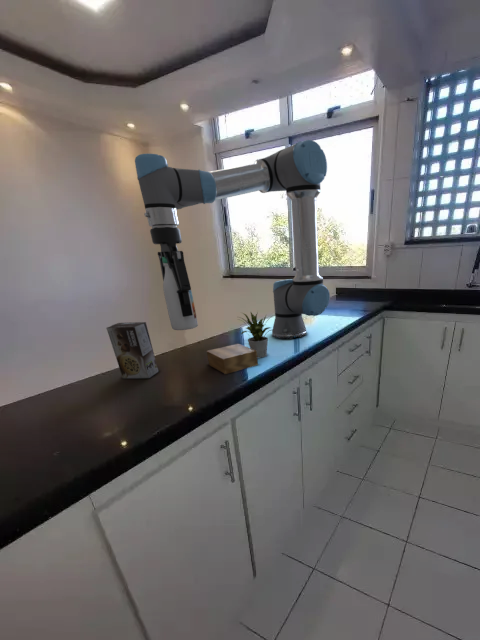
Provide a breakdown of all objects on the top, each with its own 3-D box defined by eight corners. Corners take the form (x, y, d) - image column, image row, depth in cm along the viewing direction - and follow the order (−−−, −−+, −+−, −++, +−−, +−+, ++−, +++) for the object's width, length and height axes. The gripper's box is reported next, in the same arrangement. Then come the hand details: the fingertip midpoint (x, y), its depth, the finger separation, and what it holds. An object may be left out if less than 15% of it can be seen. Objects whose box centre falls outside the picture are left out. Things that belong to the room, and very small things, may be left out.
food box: (159, 371, 101) (147, 321, 94) (149, 378, 95) (134, 326, 88) (133, 371, 102) (119, 322, 95) (121, 378, 96) (105, 326, 89)
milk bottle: (193, 330, 91) (178, 256, 82) (167, 331, 92) (150, 257, 83) (201, 324, 98) (188, 255, 89) (177, 325, 99) (162, 256, 90)
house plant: (228, 357, 111) (221, 311, 104) (254, 348, 121) (249, 305, 114) (257, 364, 104) (252, 314, 97) (283, 353, 114) (280, 307, 107)
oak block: (240, 357, 112) (238, 343, 109) (258, 365, 103) (256, 350, 101) (208, 365, 105) (206, 350, 103) (225, 374, 97) (223, 359, 94)
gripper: (139, 230, 88) (159, 311, 98) (162, 224, 74) (182, 321, 84) (165, 229, 92) (182, 308, 102) (192, 224, 78) (208, 316, 88)
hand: (182, 313), depth 93 cm, fingers closed on milk bottle, 8 cm apart
